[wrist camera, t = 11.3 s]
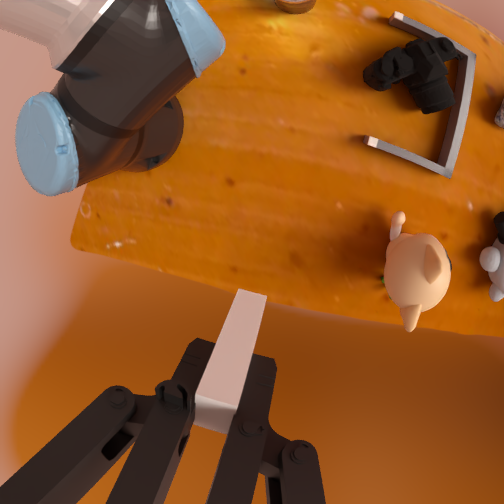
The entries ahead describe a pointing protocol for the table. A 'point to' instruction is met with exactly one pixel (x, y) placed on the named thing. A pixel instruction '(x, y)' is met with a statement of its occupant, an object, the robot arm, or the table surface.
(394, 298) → the kitten
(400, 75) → the film camera
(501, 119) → the mineral rock
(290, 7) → the lens
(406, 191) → the table surface
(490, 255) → the figurine
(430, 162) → the bracket
